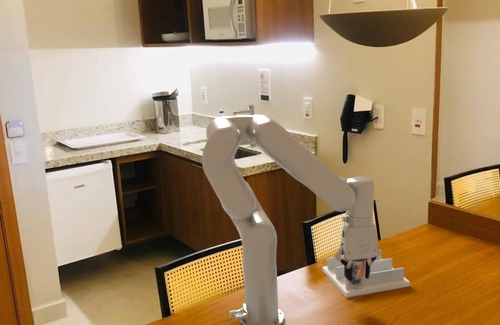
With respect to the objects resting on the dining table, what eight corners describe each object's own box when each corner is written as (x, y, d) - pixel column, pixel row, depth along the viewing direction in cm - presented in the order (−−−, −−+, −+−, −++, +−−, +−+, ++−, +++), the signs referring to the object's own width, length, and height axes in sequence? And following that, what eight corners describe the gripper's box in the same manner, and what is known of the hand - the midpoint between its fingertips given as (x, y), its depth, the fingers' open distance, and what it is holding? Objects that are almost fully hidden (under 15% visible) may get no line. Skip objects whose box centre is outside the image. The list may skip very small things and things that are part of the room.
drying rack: (346, 297, 162) (345, 281, 160) (322, 270, 180) (321, 256, 179) (410, 286, 166) (410, 270, 165) (380, 261, 185) (380, 246, 184)
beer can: (346, 288, 154) (347, 250, 151) (351, 281, 158) (352, 244, 155) (362, 291, 151) (363, 253, 149) (366, 285, 156) (368, 247, 153)
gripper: (337, 226, 144) (335, 287, 148) (392, 221, 148) (389, 280, 152) (326, 218, 151) (325, 275, 155) (380, 212, 155) (377, 269, 159)
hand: (356, 277), depth 154 cm, fingers closed on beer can, 4 cm apart
